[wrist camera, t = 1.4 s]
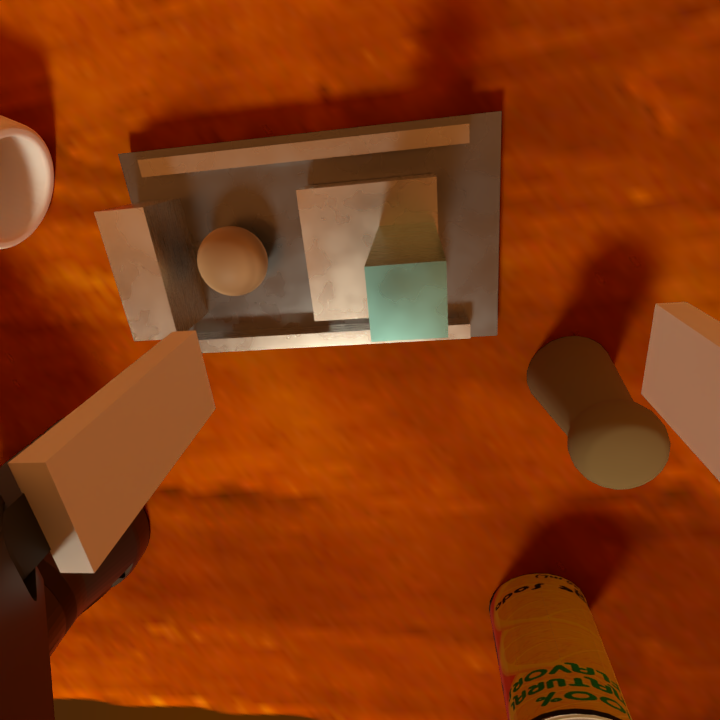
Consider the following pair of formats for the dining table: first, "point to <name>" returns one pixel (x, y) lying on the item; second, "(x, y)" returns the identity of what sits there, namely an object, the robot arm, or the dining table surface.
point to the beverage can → (552, 653)
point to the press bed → (296, 228)
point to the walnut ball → (232, 261)
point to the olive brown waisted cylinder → (598, 414)
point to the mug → (22, 181)
